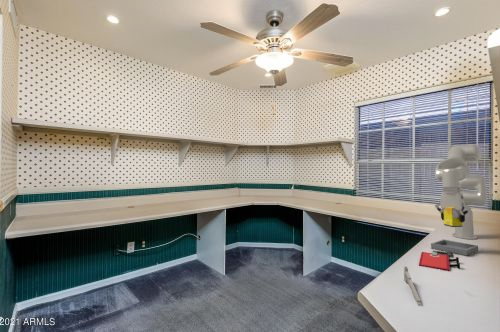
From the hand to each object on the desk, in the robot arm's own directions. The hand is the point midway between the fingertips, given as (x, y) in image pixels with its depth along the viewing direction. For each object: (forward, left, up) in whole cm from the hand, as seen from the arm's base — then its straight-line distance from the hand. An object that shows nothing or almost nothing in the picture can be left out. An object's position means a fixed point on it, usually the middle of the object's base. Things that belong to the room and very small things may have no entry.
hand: (452, 220), depth 136 cm
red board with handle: (+26, +3, -17) cm, 31 cm away
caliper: (+73, +12, -17) cm, 76 cm away
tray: (0, 0, -16) cm, 16 cm away
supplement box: (0, 0, -3) cm, 3 cm away
